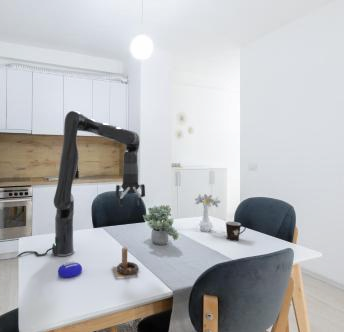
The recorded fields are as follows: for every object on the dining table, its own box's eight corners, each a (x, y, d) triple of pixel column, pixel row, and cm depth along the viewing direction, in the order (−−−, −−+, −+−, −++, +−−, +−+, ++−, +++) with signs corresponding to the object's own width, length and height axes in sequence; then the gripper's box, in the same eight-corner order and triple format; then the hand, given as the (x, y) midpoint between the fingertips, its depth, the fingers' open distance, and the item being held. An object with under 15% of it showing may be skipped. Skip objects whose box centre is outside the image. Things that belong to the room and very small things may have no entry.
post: (116, 279, 104) (116, 253, 103) (113, 269, 113) (112, 245, 112) (136, 277, 106) (137, 251, 105) (131, 267, 114) (131, 244, 114)
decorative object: (78, 254, 113) (84, 266, 104) (79, 265, 114) (84, 278, 105) (55, 259, 109) (59, 271, 100) (56, 270, 110) (59, 284, 101)
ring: (118, 276, 104) (118, 271, 104) (115, 266, 113) (115, 262, 113) (140, 274, 105) (140, 270, 105) (135, 264, 115) (135, 260, 115)
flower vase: (222, 230, 171) (222, 194, 169) (204, 234, 161) (205, 197, 159) (206, 225, 181) (207, 192, 180) (189, 229, 171) (190, 194, 170)
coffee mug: (225, 240, 150) (225, 224, 150) (225, 236, 158) (225, 220, 158) (246, 243, 146) (247, 226, 145) (245, 238, 154) (245, 222, 153)
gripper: (142, 171, 123) (142, 203, 124) (114, 172, 120) (114, 204, 121) (146, 172, 115) (146, 206, 116) (117, 173, 112) (117, 208, 113)
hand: (130, 205), depth 118 cm, fingers open, 8 cm apart
